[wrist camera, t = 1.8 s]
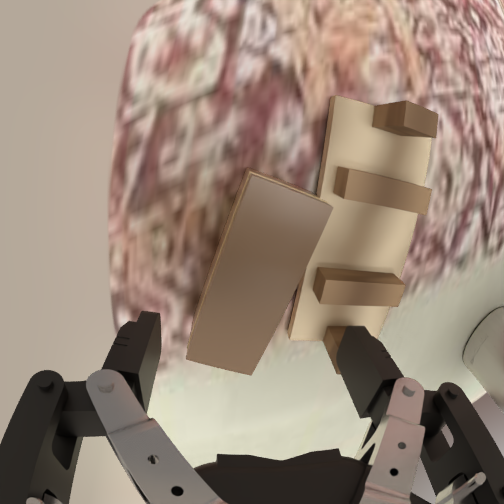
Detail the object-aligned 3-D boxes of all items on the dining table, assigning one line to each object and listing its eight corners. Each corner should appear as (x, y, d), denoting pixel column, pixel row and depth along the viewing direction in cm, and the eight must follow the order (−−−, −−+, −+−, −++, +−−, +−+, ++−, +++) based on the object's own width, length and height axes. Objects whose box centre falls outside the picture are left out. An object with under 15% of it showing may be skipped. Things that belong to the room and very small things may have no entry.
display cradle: (425, 127, 18) (468, 129, 13) (372, 333, 24) (395, 369, 19) (330, 97, 17) (361, 84, 12) (287, 332, 23) (299, 375, 18)
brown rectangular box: (310, 190, 19) (334, 207, 15) (247, 332, 23) (251, 376, 18) (246, 166, 18) (251, 174, 14) (192, 317, 22) (184, 359, 18)
